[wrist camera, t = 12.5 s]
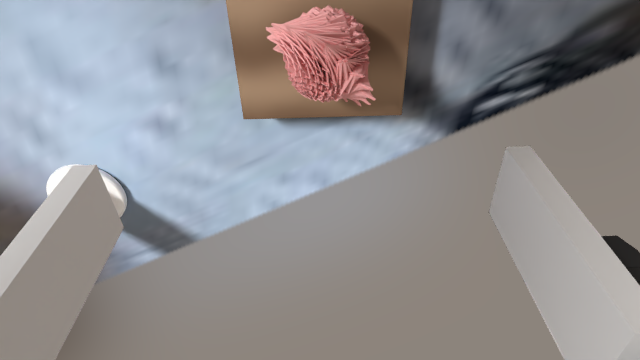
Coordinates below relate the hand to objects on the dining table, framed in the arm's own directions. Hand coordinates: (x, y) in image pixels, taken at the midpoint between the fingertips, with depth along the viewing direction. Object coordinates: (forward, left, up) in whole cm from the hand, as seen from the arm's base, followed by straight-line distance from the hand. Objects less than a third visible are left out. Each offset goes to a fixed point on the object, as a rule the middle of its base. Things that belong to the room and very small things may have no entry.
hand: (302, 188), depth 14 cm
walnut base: (0, +1, -21) cm, 21 cm away
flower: (+1, +1, -18) cm, 18 cm away
